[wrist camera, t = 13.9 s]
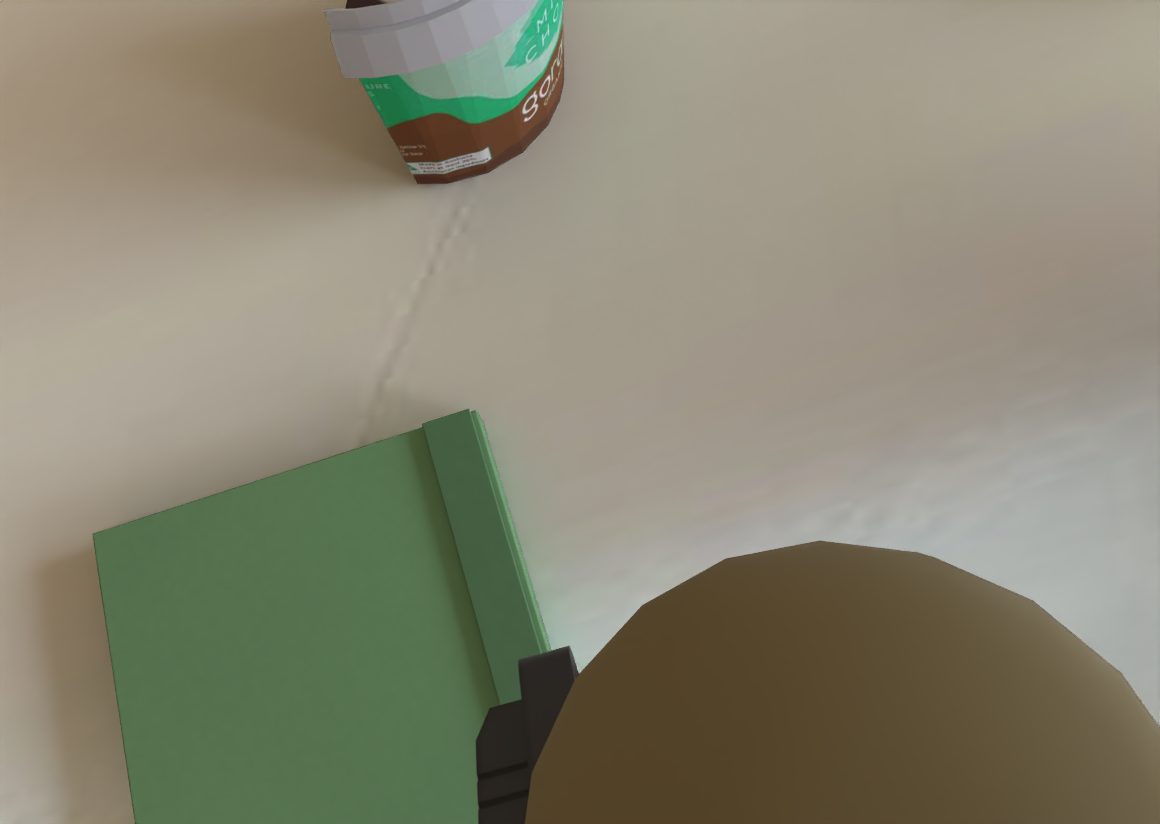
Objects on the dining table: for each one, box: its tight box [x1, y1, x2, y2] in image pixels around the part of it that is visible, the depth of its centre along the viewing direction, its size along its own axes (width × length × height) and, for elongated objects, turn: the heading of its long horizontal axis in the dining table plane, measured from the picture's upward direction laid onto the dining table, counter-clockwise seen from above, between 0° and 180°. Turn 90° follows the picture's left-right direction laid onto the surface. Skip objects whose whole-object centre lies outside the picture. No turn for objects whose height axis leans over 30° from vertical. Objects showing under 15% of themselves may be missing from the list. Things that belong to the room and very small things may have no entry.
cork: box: [525, 541, 1160, 824], centre depth 11 cm, size 6×6×11 cm
